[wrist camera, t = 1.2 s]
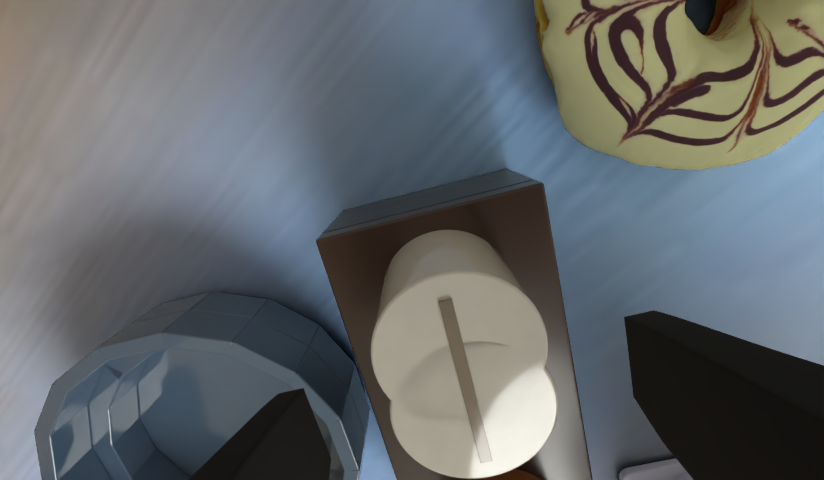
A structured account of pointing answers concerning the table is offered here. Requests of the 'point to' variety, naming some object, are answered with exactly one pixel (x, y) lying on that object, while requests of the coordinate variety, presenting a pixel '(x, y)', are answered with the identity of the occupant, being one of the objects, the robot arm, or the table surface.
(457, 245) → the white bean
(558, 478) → the rack
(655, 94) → the decorated donut
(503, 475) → the brown rounded block
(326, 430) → the bowl
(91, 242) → the table surface
